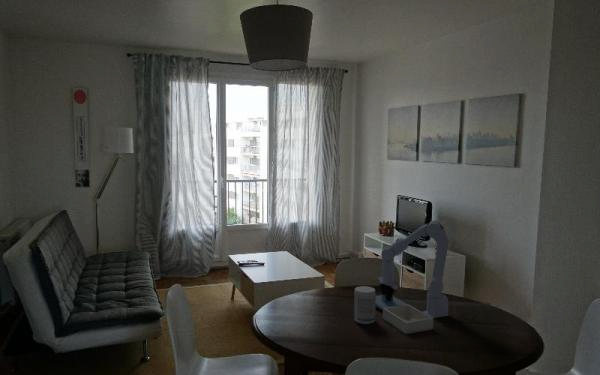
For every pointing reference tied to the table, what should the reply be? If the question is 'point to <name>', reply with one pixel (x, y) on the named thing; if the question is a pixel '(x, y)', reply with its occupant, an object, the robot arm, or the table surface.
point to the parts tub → (408, 319)
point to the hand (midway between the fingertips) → (387, 299)
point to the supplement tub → (364, 304)
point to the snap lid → (388, 302)
